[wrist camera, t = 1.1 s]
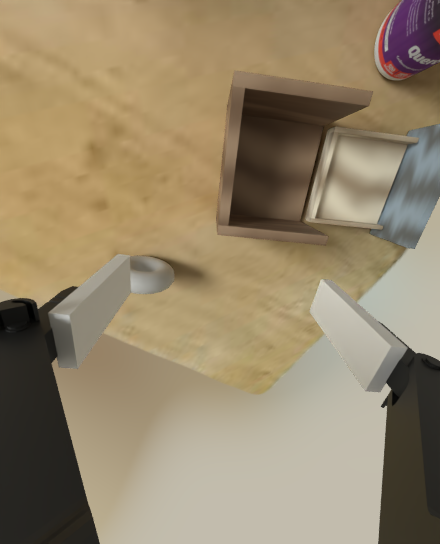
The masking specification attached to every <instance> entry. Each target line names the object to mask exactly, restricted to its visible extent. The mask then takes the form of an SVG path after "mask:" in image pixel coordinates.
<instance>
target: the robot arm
mask: <svg viewBox="0 0 440 544" xmlns="http://www.w3.org/2000/svg"><path fill="white" fill-rule="evenodd" d="M130 293H131V280H130V255H121V254H117V255H116V256H115V257H114V258H113V259H111V260H110V261H109V262H108V263H107V264H106V265H104V266H103V267H102V268H101V269H100V270H98V271H97V272H96V273H95V274H94V275H92V276H91V277H90V278H89V279H88V280H87V281H85V282H84V283H83V284H82V285H81V286H79V287H74V286H72V287H70V288H67V289H65V290H63V291H61V292H60V293H59V294H57V295H56V296H55V298H54V297H53V298H52V299H51V300H50V301H49V302H47V303H46V304H44V305H43V306H42V307H41V308H39V309H37V304H36V302H35V301H34V300H31V299H26V298H19V299H11V300H7V301H3V302H1V303H0V544H100V543H99V539H98V536H97V532H96V528H95V524H94V521H93V517H92V513H91V510H90V507H89V505H88V501H87V497H86V494H85V490H84V486H83V482H82V478H81V475H80V471H79V467H78V463H77V459H76V456H75V452H74V448H73V444H72V440H71V436H70V433H69V429H68V425H67V422H66V417H65V414H64V410H63V406H62V402H61V398H60V395H59V391H58V387H57V383H56V379H55V376H54V372H53V368H52V364H51V363H52V362H53V360H55V358H56V357H57V360H58V365H59V367H62V368H76V369H78V368H79V366H80V365H81V363H82V362H83V360H84V359H85V358H86V356H87V355H88V353H89V352H90V350H91V349H92V347H93V346H94V345H95V343H96V342H97V340H98V339H99V337H100V336H101V335H102V333H103V332H104V330H105V329H106V327H107V326H108V324H109V323H110V322H111V320H112V319H113V317H114V316H115V314H116V313H117V311H118V310H119V309H120V307H121V306H122V304H123V303H124V301H125V300H126V298H127V297H128V296H129V294H130ZM310 313H311V315H312V316H313V317H314V319H315V320H316V322H317V323H318V325H319V326H320V327H321V329H322V330H323V332H324V333H325V335H326V336H327V337H328V339H329V340H330V342H331V343H332V344H333V346H334V347H335V349H336V350H337V352H338V353H339V354H340V356H341V357H342V359H343V360H344V362H345V363H346V364H347V366H348V367H349V369H350V370H351V371H352V373H353V374H354V376H355V377H356V379H357V380H358V381H359V383H360V384H361V386H362V387H363V389H364V390H365V391H372V392H381V390H382V388H383V387H384V385H385V384H386V383H387V384H388V386H389V387H390V388H391V389H392V390H391V391H390V393H389V394H388V396H387V398H386V399H385V401H384V402H383V404H382V405H381V407H382V408H384V407H385V406H387V420H386V434H385V449H384V465H383V480H382V496H381V510H380V526H379V541H378V544H440V361H439V360H437V359H435V358H433V357H431V356H428V355H425V354H421V353H417V354H416V353H415V352H414V351H412V349H410V348H409V347H408V346H407V345H406V344H405V343H404V342H402V341H401V340H400V339H399V338H398V337H396V336H395V334H393V333H392V332H390V330H389V329H388V328H387V327H385V326H384V325H383V324H382V323H380V322H378V321H377V320H376V319H374V317H372V316H371V315H370V314H369V313H368V312H367V311H366V310H365V309H363V308H362V307H361V306H360V305H359V304H358V303H357V302H356V301H354V300H353V299H352V298H351V297H350V296H349V295H348V294H347V293H346V292H344V291H343V290H342V289H341V288H340V287H339V286H338V285H337V284H335V283H334V282H333V281H332V280H326V279H321V281H320V284H319V287H318V290H317V292H316V295H315V298H314V301H313V303H312V306H311V309H310Z"/></svg>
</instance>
